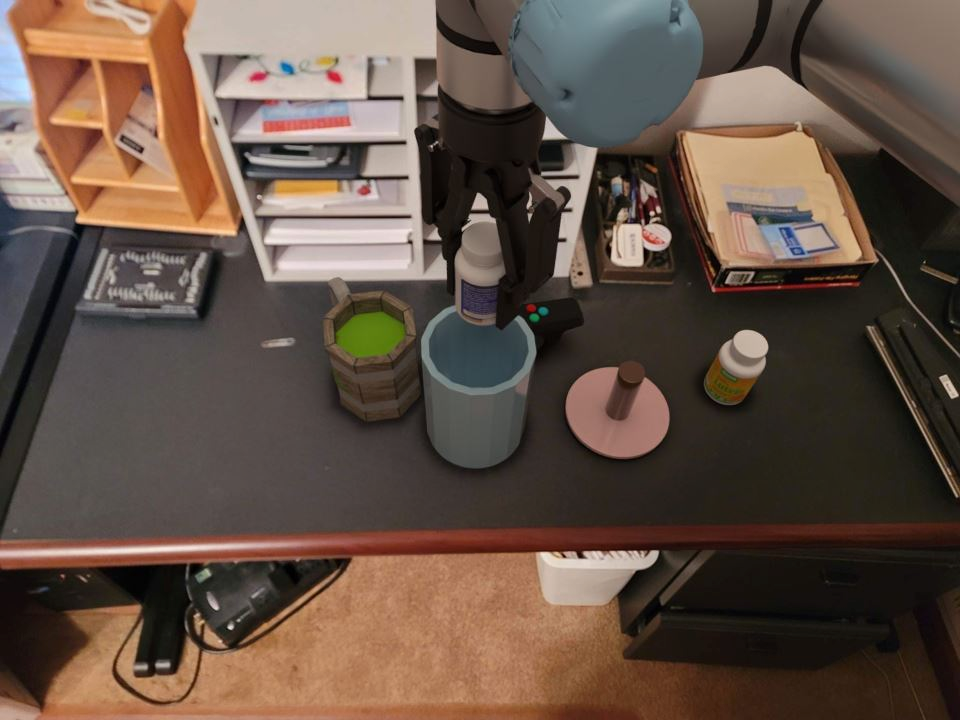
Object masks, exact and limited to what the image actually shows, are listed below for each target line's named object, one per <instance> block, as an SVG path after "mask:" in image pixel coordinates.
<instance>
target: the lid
mask: <svg viewBox="0 0 960 720" xmlns="http://www.w3.org/2000/svg"><path fill="white" fill-rule="evenodd" d="M564 406H565V407H564V408H565V409H564V412H565V419H566V422H567V424H568V426H569V428H570V430H571V432H572V434H573V435H574V436H575V438H576V439H577V440H578V441H579V442H580V443H581V444H582V445H583V446H585V447H586V448H587V449H589V450H590V451H592V452H594V453H596V454H598V455H600V456H603V457H606V458H610V459H618V460H630V459H637V458H639V457H643V456H645V455H647V454H649V453H651V452H652V451H654V450H655V449H656V448H657V447H658V446H659V445H660V444H661V443H662V442H663V440H664V438H665V437H666V435H667V433H668V430H669V426H670V420H671V418H670V409H669V406H668V403H667V400H666V398H665V396H664V395H663V393H662V392H661V390H660V389H659V388H658V386H657V385H656V384H654V383H653V381H651V380H650V379H649V378H647V377H646V370H645V368H644V366H643V364H641V363H640V362H637V361H634V360H626V361H624V362H622V363H621V364H619V366H618V367H617V366H608V367H598V368H596V369H591V370H590V371H587V372H586V373H584V374H583V375H581V376H579V378H577V379H576V380H575V381H574V383H573V384H572V385H571V387H570V389H569V390H568V393H567V395H566V399H565V405H564Z"/></svg>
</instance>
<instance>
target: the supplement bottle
mask: <svg viewBox="0 0 960 720" xmlns="http://www.w3.org/2000/svg"><path fill="white" fill-rule="evenodd" d="M768 351H769V344H768V341H767V339H766V338H765V337H764V336H763V334H761V333H759V332H757V331H755V330H751V329H743V330H740V331H738V332H737V333H736V334H735V335H734V336H733V338H732V339H729V340H728V341H726V342H724V344H723V345H722V346H721V347H720V348H719V350H718V352H717V354H716V356H715V358H714V361H713V362H712V364H711V365H710V367H709V370H707V372H706V375H705V377H704V381H703V387H704V391H705V393H706V394H707V395H708V397H709V398H711V400H713V401H714V402H716V403H718V404H719V405H724V406H734V405H738V404H740V403H741V402H743V400H745V398H746V397H747V395H748V393H749V392H750V391H751V389H752V387H753V386H754V385H755V383H756V381H757V380H758V378H759V377H760V376H761V374H762V372H763V371H764V370H765V367H766V364H767V359H766V355H767V353H768Z"/></svg>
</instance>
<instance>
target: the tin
mask: <svg viewBox="0 0 960 720" xmlns="http://www.w3.org/2000/svg"><path fill="white" fill-rule="evenodd" d="M495 325H496V323H495V324H492V325H485V326H482V325H475V324H472V323H469V322H467V321H466V320H464V319H463V318H462V317H461V316H460V315H459V314H458V312H457V310H456V306H455V304H454V305H450V306H448V307H445V308H444V309H443V310H441V311H440V312H439V313H438V314H437V315H436V316H434V317H433V318H432V319H431V320H430V321H429V322H428V324H427V326H426V328H425V330H424V332H423V334H422V336H421V338H420V349H421V350H420V352H421V367H422V380H423V393H424V406H425V420H426V432H427V436H428V439H429V441H430V443H431V445H432V446H433V448H434V450H435V451H436V452H437V454H439V455H440V456H441V457H442V458H443V459H445V460H446V461H448V462H450V463H451V464H453V465H456V466H459V467H461V468H467V469H484V468H485V469H486V468H489V467H493V466H495V465H496V466H497V465H498V464H501V463H502V462H504V461H505V460H507V459H508V458H509V457H511V456H512V455H513V454H514V453H515V451H516V450H517V448H518V447H519V445H520V443H521V440H522V437H523V433H524V431H525V427H526V421H527V414H528V408H529V403H530V395H531V391H532V390H531V389H532V383H533V377H534V371H535V366H536V365H535V364H536V359H537V357H536V345H535V338H534V334H533V332H532V331H531V329H530V328H529V326H528V325H527V323H526V322H525V320H524V319H523V318H522V317H520V316H519V315H518V316H517V317H516V318H515V319H514V320H513V321H512V322H511V323H510V324H508V325H507V326H506V327H505V328H504V329H503V330H502V331H501V330H500V329H498V328H497V327H496V326H495Z"/></svg>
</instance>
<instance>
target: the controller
mask: <svg viewBox="0 0 960 720" xmlns="http://www.w3.org/2000/svg"><path fill="white" fill-rule="evenodd" d="M519 316H520V317H522V318H523V319H524V320H525V322H526V323H527V325H528V326H529V328H530V329H531V331H532V332H533V334H534V338H535V345H536V358H537V357H540V356H541V355H544V354H545V353H547V352H549V351H550V350H552V349H553V348H554V347H556V346H557V344H558V343H559V342H560V341H561V340H562V337H563V335H564V334H565V332H568V331H569V330H573V329H577V328H580V327H582V326H583V325H584V324H585V318H584V317H585V316H584V314H583V311H582V309H581V306H580V304H579V302H578V300H577V299H576V298H574V297H572V296H571V297H565V298H564V297H563V298H559V299H558V298H557V299H550V300H541V301H535V302H527V303H523V304H522V305H521V312H520V314H519Z"/></svg>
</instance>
